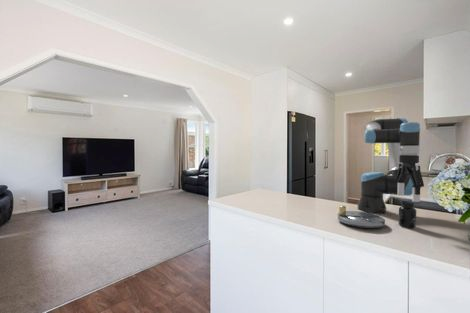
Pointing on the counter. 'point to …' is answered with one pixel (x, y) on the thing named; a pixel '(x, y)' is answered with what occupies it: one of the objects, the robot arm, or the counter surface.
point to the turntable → (360, 218)
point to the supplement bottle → (407, 215)
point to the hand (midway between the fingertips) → (407, 198)
